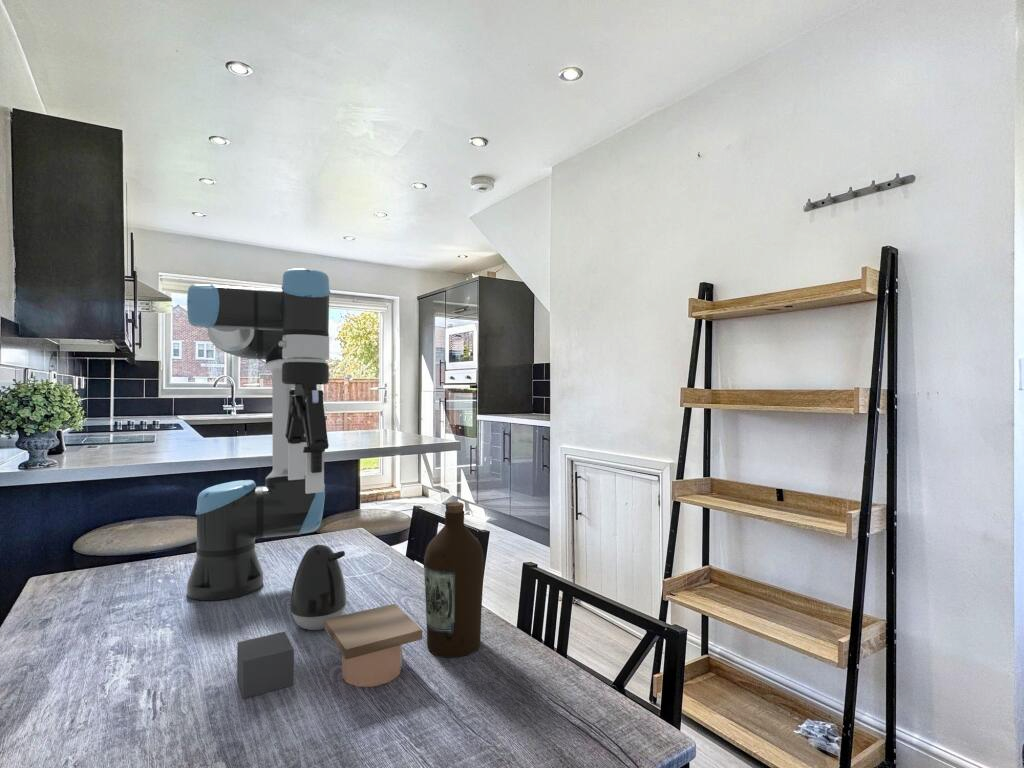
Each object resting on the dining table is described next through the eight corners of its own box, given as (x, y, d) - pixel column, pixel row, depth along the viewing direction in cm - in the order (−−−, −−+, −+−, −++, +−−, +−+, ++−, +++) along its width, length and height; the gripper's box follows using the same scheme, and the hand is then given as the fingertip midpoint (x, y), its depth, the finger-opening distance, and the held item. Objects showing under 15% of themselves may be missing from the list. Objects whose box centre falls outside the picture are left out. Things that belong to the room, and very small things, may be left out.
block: (237, 677, 86) (237, 642, 86) (284, 664, 90) (284, 631, 90) (243, 699, 80) (243, 661, 80) (293, 684, 84) (293, 649, 84)
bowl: (336, 666, 89) (336, 629, 89) (389, 652, 94) (389, 617, 94) (352, 692, 82) (353, 652, 82) (409, 675, 87) (409, 637, 87)
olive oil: (451, 626, 105) (452, 495, 104) (495, 641, 98) (496, 502, 98) (410, 647, 96) (411, 505, 96) (456, 666, 90) (457, 513, 90)
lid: (324, 628, 90) (324, 619, 90) (394, 612, 96) (394, 603, 96) (345, 659, 80) (345, 649, 80) (422, 639, 86) (422, 629, 86)
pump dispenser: (329, 639, 99) (330, 555, 99) (278, 633, 101) (278, 551, 101) (356, 615, 109) (357, 539, 109) (309, 611, 111) (309, 536, 111)
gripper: (269, 362, 102) (268, 476, 102) (298, 358, 81) (297, 501, 81) (311, 363, 106) (310, 473, 106) (349, 359, 85) (348, 496, 85)
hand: (305, 485), depth 94 cm, fingers open, 13 cm apart
